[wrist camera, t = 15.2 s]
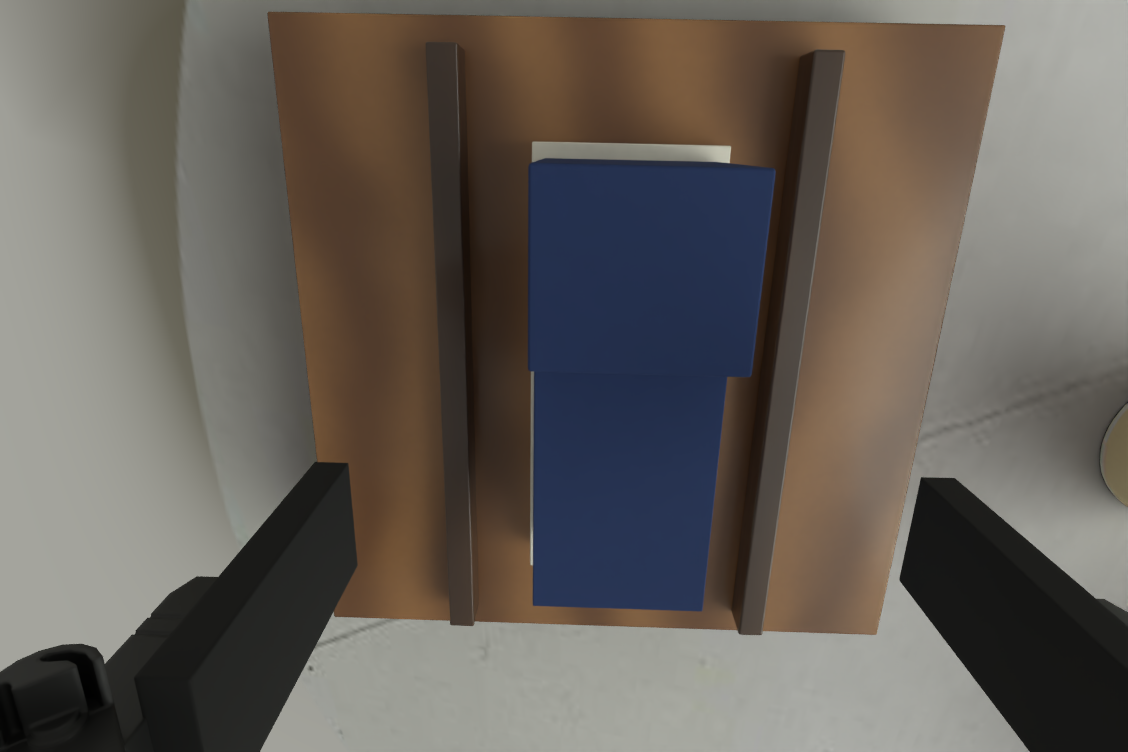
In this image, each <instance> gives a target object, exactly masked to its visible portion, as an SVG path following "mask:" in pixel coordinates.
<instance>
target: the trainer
mask: <svg viewBox="0 0 1128 752" xmlns="http://www.w3.org/2000/svg"><path fill="white" fill-rule="evenodd" d="M730 153H731V146H719V145H673V144H627V143H580V142H532V163H530V164H529V166H528V370H529V371H531V458H530V565H533V606H550V607H581V608H611V609H641V610H672V611H702V610H703V602H704V592H705V583H706V573H707V564H708V555H709V545H710V536H711V527H712V517H713V508H714V498H715V489H716V480H717V470H718V461H719V451H720V442H721V433H722V423H723V414H724V404H725V395H726V386H727V377H751V375H752V368H753V359H754V351H755V342H756V334H757V326H758V317H759V309H760V300H761V292H762V283H763V275H764V267H765V258H766V250H767V241H768V233H769V225H770V216H771V208H772V199H773V191H774V183H775V174H776V171H775V169H774V168H768V167H759V166H749V165H741V164H732V163H730Z"/></svg>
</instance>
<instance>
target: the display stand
mask: <svg viewBox="0 0 1128 752" xmlns="http://www.w3.org/2000/svg"><path fill="white" fill-rule="evenodd" d="M267 14H268V23H269V32H270V41H271V50H272V59H273V68H274V77H275V86H276V95H277V104H278V113H279V122H280V131H281V140H282V149H283V158H284V167H285V176H286V185H287V194H288V203H289V212H290V221H291V230H292V239H293V248H294V257H295V266H296V275H297V284H298V293H299V302H300V311H301V320H302V329H303V338H304V347H305V356H306V365H307V374H308V383H309V392H310V401H311V410H312V419H313V428H314V437H315V446H316V455H317V462H337V463H348V464H349V475H350V486H351V497H352V508H353V519H354V530H355V541H356V552H357V563H358V566H357V568H356V570H355V572H354V574H353V575H352V577H351V579H350V581H349V583H348V585H347V587H346V589H345V591H344V593H343V594H342V596H341V598H340V600H339V602H338V604H337V606H336V608H335V610H334V616H335V617H360V618H390V619H420V620H450V624H451V625H461V626H473V625H474V622H475V621H479V622H509V623H539V624H569V625H599V626H629V627H659V628H689V629H719V630H738V633H739V634H741V635H762V632H763V631H779V632H809V633H839V634H869V635H876V634H877V630H878V625H879V620H880V615H881V611H882V606H883V601H884V597H885V592H886V587H887V582H888V578H889V573H890V568H891V564H892V559H893V554H894V549H895V545H896V540H897V535H898V531H899V526H900V521H901V516H902V512H903V507H904V502H905V498H906V493H907V488H908V483H909V479H910V474H911V469H912V465H913V460H914V455H915V450H916V446H917V441H918V436H919V432H920V427H921V422H922V417H923V413H924V408H925V403H926V399H927V394H928V389H929V384H930V380H931V375H932V370H933V366H934V361H935V356H936V351H937V347H938V342H939V337H940V333H941V328H942V323H943V318H944V314H945V309H946V304H947V299H948V295H949V290H950V285H951V281H952V276H953V271H954V266H955V262H956V257H957V252H958V248H959V243H960V238H961V233H962V229H963V224H964V219H965V215H966V210H967V205H968V200H969V196H970V191H971V186H972V182H973V177H974V172H975V167H976V163H977V158H978V153H979V149H980V144H981V139H982V134H983V130H984V125H985V120H986V116H987V111H988V106H989V101H990V97H991V92H992V87H993V83H994V78H995V73H996V68H997V64H998V59H999V54H1000V50H1001V45H1002V40H1003V35H1004V31H1005V26H1004V25H962V24H908V23H854V22H800V21H746V20H692V19H638V18H584V17H530V16H476V15H422V14H368V13H314V12H268V13H267ZM532 142H580V143H627V144H673V145H719V146H731V153H730V163H732V164H741V165H749V166H759V167H768V168H774V169H775V171H776V174H775V183H774V191H773V199H772V208H771V216H770V225H769V233H768V241H767V250H766V258H765V267H764V275H763V283H762V292H761V300H760V309H759V317H758V326H757V334H756V342H755V351H754V359H753V368H752V375H751V377H727V386H726V395H725V404H724V414H723V423H722V433H721V442H720V451H719V461H718V470H717V480H716V489H715V498H714V508H713V517H712V527H711V536H710V545H709V555H708V564H707V573H706V583H705V592H704V602H703V610H702V611H672V610H641V609H611V608H581V607H550V606H533V565H530V458H531V371H529V370H528V166H529V164H530V163H532Z"/></svg>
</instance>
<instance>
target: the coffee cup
mask: <svg viewBox="0 0 1128 752" xmlns="http://www.w3.org/2000/svg"><path fill="white" fill-rule="evenodd" d="M1100 466H1101V472H1102V475H1103V478H1104V481H1105V482H1106V485H1107V486H1108V488H1109V489H1110V491H1111V492H1112V493H1113V494H1114V496H1115V497H1116V498H1117V499H1118V500H1119V501H1121V502H1122V503H1123V504H1124V505H1126V506H1127V507H1128V403H1127V404H1126V405H1125V406H1124V407H1123V408H1122V409H1121V411H1120V412H1119V413H1118V414H1117V416H1116V417H1115V418H1114V419H1113V421H1112V423H1111V424H1110V426H1109V428H1108V430H1107V432H1106V434H1105V437H1104V439H1103V443H1102V446H1101V454H1100Z"/></svg>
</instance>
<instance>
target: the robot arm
mask: <svg viewBox="0 0 1128 752" xmlns="http://www.w3.org/2000/svg"><path fill="white" fill-rule="evenodd" d="M357 566H358V563H357V552H356V541H355V530H354V519H353V508H352V497H351V486H350V475H349V464H348V463H337V462H315V463H314V464H313V465H312V466H311V468H310V469H309V470H308V471H307V472H306V473H305V475H304V476H303V477H302V478H301V479H300V481H299V482H298V483H297V484H296V485H295V487H294V488H293V489H292V490H291V491H290V492H289V494H288V495H287V496H286V497H285V498H284V500H283V501H282V502H281V503H280V504H279V506H278V507H277V508H276V509H275V510H274V511H273V513H272V514H271V515H270V516H269V517H268V519H267V520H266V521H265V522H264V523H263V525H262V526H261V527H260V528H259V529H258V531H257V532H256V533H255V534H254V535H253V536H252V538H251V539H250V540H249V541H248V542H247V544H246V545H245V546H244V547H243V548H242V550H241V551H240V552H239V553H238V554H237V555H236V557H235V558H234V559H233V560H232V561H231V563H230V564H229V565H228V566H227V567H226V569H225V570H224V571H223V572H222V573H221V575H220V576H219V577H195V578H194V579H192V580H190V581H189V582H187V583H186V584H184V585H183V586H181V587H179V588H178V589H176V590H175V591H173V592H171V593H170V594H169V595H168V596H167V597H166V598H165V599H164V600H163V602H162V603H161V604H160V605H159V606H158V607H157V608H156V609H155V610H154V611H153V612H152V614H151V617H150V618H147V619H146V620H145V621H144V622H143V623H142V625H140V627H139V628H138V629H137V630H136V633H135V635H131V636H130V637H129V639H128V640H127V641H126V642H125V643H124V644H123V645H122V646H121V647H120V648H119V649H118V650H117V651H116V653H115V654H114V655H113V656H112V657H111V658H110V659H109V660H108V661H107V662H106V664H104V660H103V656H102V655H101V654H100V652H99V651H98V650H97V648H95V647H91V646H88V645H84V644H69V645H60V646H56V647H53V648H49V649H45V650H41V651H38V652H36V653H34V654H32V655H29V656H27V657H25V658H22V659H20V660H18V661H16V662H15V663H13V664H12V665H10V666H9V667H7V668H6V669H4V670H3V671H1V672H0V752H260V750H261V748H262V746H263V744H264V742H265V740H266V739H267V737H268V735H269V733H270V731H271V729H272V727H273V725H274V724H275V722H276V720H277V718H278V716H279V714H280V712H281V710H282V708H283V706H284V705H285V703H286V701H287V699H288V697H289V695H290V693H291V691H292V689H293V687H294V686H295V684H296V682H297V680H298V678H299V676H300V674H301V672H302V670H303V668H304V667H305V665H306V663H307V661H308V659H309V657H310V655H311V653H312V651H313V649H314V648H315V646H316V644H317V642H318V640H319V638H320V636H321V634H322V632H323V630H324V629H325V627H326V625H327V623H328V621H329V619H330V617H331V615H332V613H333V612H334V610H335V608H336V606H337V604H338V602H339V600H340V598H341V596H342V594H343V593H344V591H345V589H346V587H347V585H348V583H349V581H350V579H351V577H352V575H353V574H354V572H355V570H356V568H357ZM899 580H900V582H901V583H902V584H903V586H904V587H905V588H906V590H907V591H908V592H909V593H910V595H911V596H912V597H913V599H914V600H915V601H916V603H917V604H918V605H919V607H920V608H921V609H922V611H923V612H924V613H925V615H926V616H927V617H928V618H929V620H930V621H931V622H932V624H933V625H934V626H935V628H936V629H937V630H938V632H939V633H940V634H941V636H942V637H943V638H944V639H945V641H946V642H947V643H948V645H949V646H950V647H951V649H952V650H953V651H954V653H955V654H956V655H957V657H958V658H959V659H960V660H961V662H962V663H963V664H964V666H965V667H966V668H967V670H968V671H969V672H970V674H971V675H972V676H973V678H974V679H975V680H976V682H977V683H978V684H979V685H980V687H981V688H982V689H983V691H984V692H985V693H986V695H987V696H988V697H989V699H990V700H991V701H992V703H993V704H994V705H995V706H996V708H997V709H998V710H999V712H1000V713H1001V714H1002V716H1003V717H1004V718H1005V720H1006V721H1007V722H1008V724H1009V725H1010V726H1011V728H1012V729H1013V730H1014V731H1015V733H1016V734H1017V735H1018V737H1019V738H1020V739H1021V741H1022V742H1023V743H1024V745H1025V746H1026V747H1027V749H1028V750H1029V751H1030V752H1128V612H1126V611H1124V610H1123V609H1121V608H1119V607H1117V606H1115V605H1114V604H1112V603H1110V602H1108V601H1106V600H1105V599H1095V598H1094V597H1093V596H1092V595H1091V594H1090V593H1088V592H1087V591H1086V590H1085V589H1084V588H1083V587H1081V586H1080V585H1079V584H1078V583H1077V582H1076V581H1074V580H1073V579H1072V578H1071V577H1070V576H1069V575H1067V574H1066V573H1065V572H1064V571H1063V570H1062V569H1060V568H1059V567H1058V566H1057V565H1056V564H1055V563H1053V562H1052V561H1051V560H1050V559H1049V558H1047V557H1046V556H1045V555H1044V554H1043V553H1042V552H1040V551H1039V550H1038V549H1037V548H1036V547H1035V546H1033V545H1032V544H1031V543H1030V542H1029V541H1028V540H1026V539H1025V538H1024V537H1023V536H1022V535H1021V534H1019V533H1018V532H1017V531H1016V530H1015V529H1014V528H1012V527H1011V526H1010V525H1009V524H1008V523H1007V522H1005V521H1004V520H1003V519H1002V518H1001V517H999V516H998V515H997V514H996V513H995V512H994V511H992V510H991V509H990V508H989V507H988V506H987V505H985V504H984V503H983V502H982V501H981V500H980V499H978V498H977V497H976V496H975V495H974V494H973V493H971V492H970V491H969V490H968V489H967V488H966V487H964V486H963V485H962V484H961V483H960V482H959V481H957V480H956V479H955V478H924V477H921V480H920V485H919V490H918V494H917V499H916V504H915V508H914V513H913V518H912V523H911V527H910V532H909V537H908V541H907V546H906V551H905V555H904V560H903V565H902V570H901V574H900V579H899Z"/></svg>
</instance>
